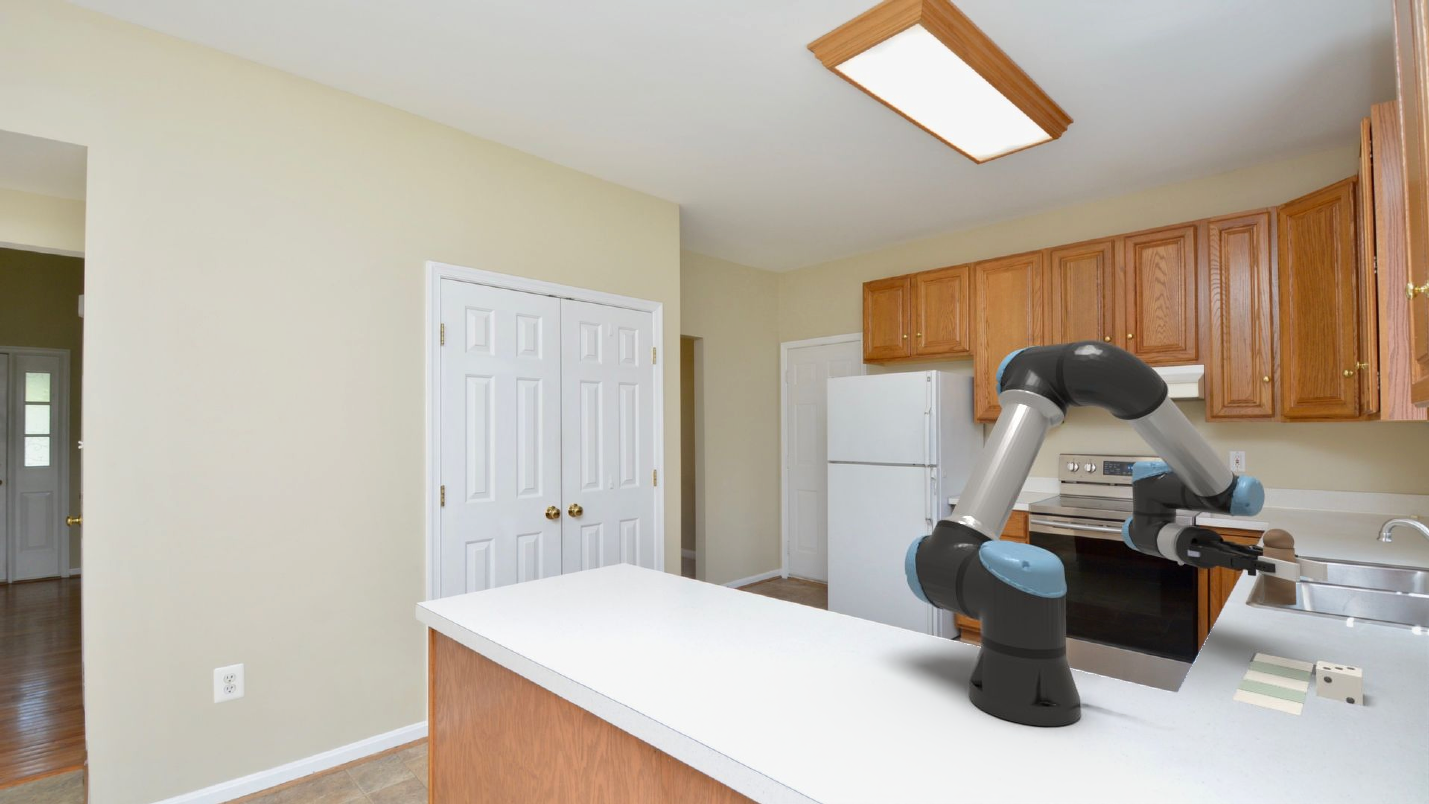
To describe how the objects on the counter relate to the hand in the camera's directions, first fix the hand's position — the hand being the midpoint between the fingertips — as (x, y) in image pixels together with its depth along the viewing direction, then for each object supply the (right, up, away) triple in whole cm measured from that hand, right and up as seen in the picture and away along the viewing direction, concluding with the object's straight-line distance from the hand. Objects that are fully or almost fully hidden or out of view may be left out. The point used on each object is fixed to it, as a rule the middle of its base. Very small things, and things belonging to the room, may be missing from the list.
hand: (1311, 572), depth 103 cm
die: (+2, -19, -3) cm, 19 cm away
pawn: (0, -6, +5) cm, 8 cm away
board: (-3, -19, +3) cm, 19 cm away
